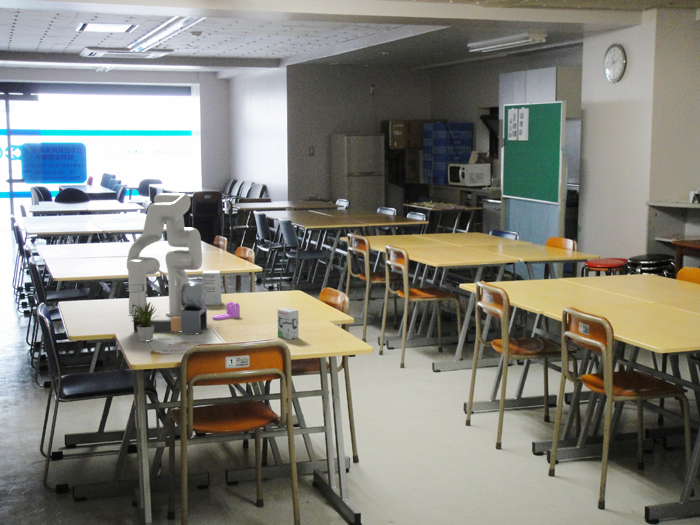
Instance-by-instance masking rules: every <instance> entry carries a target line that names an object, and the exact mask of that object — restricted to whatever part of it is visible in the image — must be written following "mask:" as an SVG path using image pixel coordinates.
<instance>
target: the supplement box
mask: <svg viewBox="0 0 700 525" xmlns="http://www.w3.org/2000/svg"><path fill="white" fill-rule="evenodd" d="M201 281H202V282H201V283H203V284H204V285H205V290H206V301H205V306H217V305H218V306H220V305H221V304H222V273H221V270H203V271H202V273H201Z"/></svg>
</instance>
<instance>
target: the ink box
mask: <svg viewBox="0 0 700 525" xmlns="http://www.w3.org/2000/svg"><path fill="white" fill-rule="evenodd" d="M277 337H278V338H282V337H283V339H286V338H288V339H287V340H293V339H292V338H295V339H298V338H297V337H299V310H297V309H294V308H291V307H284V308H279V309H277Z"/></svg>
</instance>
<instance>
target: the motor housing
mask: <svg viewBox="0 0 700 525" xmlns="http://www.w3.org/2000/svg"><path fill="white" fill-rule="evenodd" d="M205 301H206V290H205V285H204V284H203V283H202V282H200V283H198V282H197V283H196V282H195V283H193V282H191V283H190V282H189V283H184V284H183V286H182V289H181V304H182V307H183V308H184V309H183V310H181V331H182V332H181V334H182V333H198V334H197V335H200V334H201V333H202V330H207V329H208V313H207V312H208V311H207V309H208V308H207V306H208V305H205Z"/></svg>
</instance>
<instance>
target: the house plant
mask: <svg viewBox="0 0 700 525" xmlns="http://www.w3.org/2000/svg"><path fill="white" fill-rule="evenodd" d="M133 305H134V304H133ZM135 306H136V305H135ZM150 306H151V307H150ZM155 306H156V305H155ZM155 306H153V304H152V302H147V303H146V306H145V311H144V310H143V309H142V307H141V306H140V305H139V307H140V308H139V307H137V306H136V307H137V309H138V310H137V309H136V310H137V311H138V313H139V314H140V315H141V316H139V315H138V314H137V313H136V314H137V315H134V314H133V315H132V314H128V316H130V317H131V322H132V323H133V324H134V321H136V320H137V321H139V322H140V324H141V325H138V326H137V330H138V331H137V335H138V338H139V339H138V340H139V342H141V341H146V340H151V339H153V337H154V332H155V331H154V325H153V324H150V323H151V322H153V321H150V320H152V316H153V314H154V313H155V312H156V310H155ZM130 309H131V308H130ZM136 310H135V311H136ZM133 311H134V310H133ZM132 316H134V318H135V317H136V318H137V319H135V320H133V317H132ZM156 317H158V315H156V316H154V317H153V319H155V318H156ZM153 340H154V339H153Z"/></svg>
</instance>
